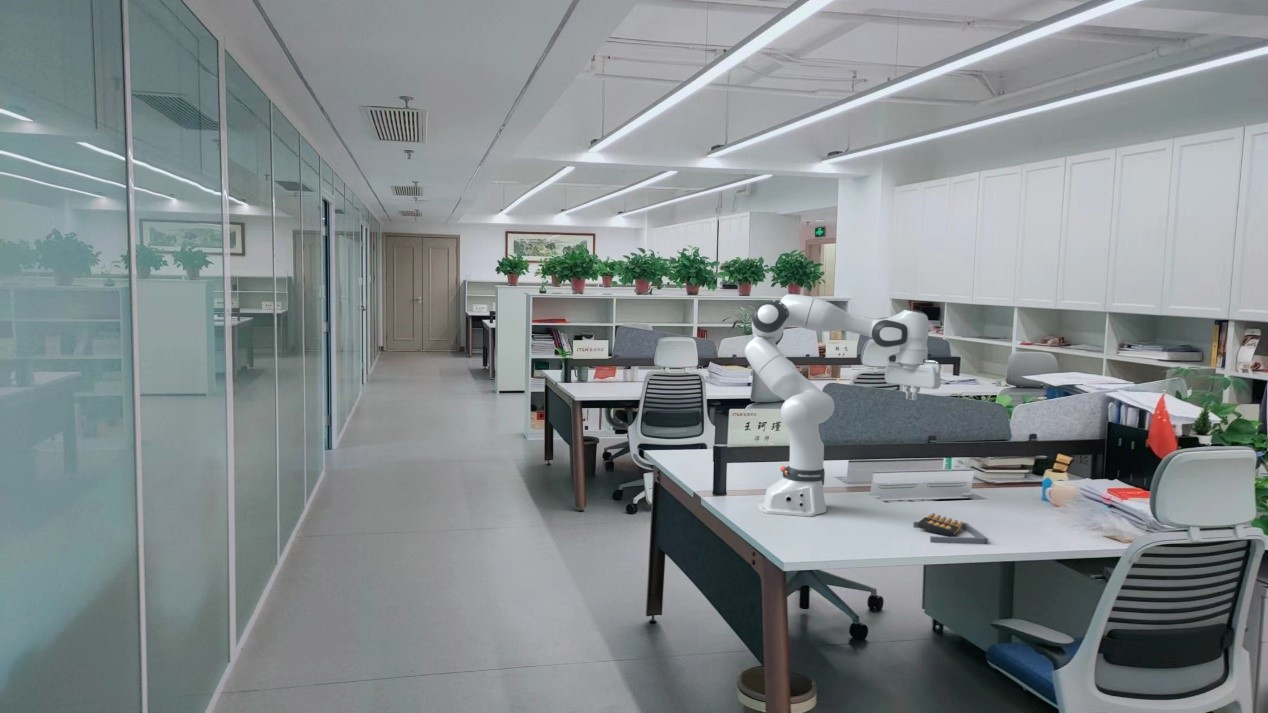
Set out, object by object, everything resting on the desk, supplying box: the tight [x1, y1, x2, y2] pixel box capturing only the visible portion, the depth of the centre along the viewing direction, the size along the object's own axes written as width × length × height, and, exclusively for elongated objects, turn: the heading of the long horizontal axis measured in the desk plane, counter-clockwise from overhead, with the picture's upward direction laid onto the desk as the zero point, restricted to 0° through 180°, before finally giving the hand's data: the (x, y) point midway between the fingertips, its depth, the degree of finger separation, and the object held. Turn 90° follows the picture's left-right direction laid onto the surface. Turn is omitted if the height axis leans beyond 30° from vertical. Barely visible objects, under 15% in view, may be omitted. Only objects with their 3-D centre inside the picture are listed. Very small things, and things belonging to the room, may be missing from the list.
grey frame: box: [912, 521, 989, 545], centre depth 259 cm, size 16×17×2 cm
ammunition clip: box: [918, 512, 964, 537], centre depth 264 cm, size 11×2×12 cm
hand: (911, 399), depth 287 cm, fingers closed
